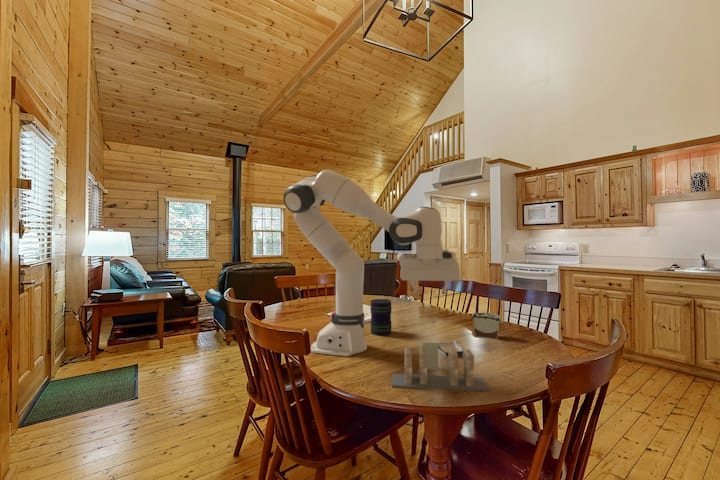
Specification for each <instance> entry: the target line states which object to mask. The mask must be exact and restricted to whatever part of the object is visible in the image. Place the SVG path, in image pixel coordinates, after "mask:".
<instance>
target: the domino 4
mask: <svg viewBox="0 0 720 480" xmlns="http://www.w3.org/2000/svg"><path fill="white" fill-rule="evenodd" d="M474 361H475V356H474V354H473V352H472V351H471V349H463V357H462V376H463V379H464V381H465V383H466V385H467V386H474V377H475V363H474Z"/></svg>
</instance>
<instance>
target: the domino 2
mask: <svg viewBox="0 0 720 480" xmlns="http://www.w3.org/2000/svg"><path fill="white" fill-rule="evenodd" d="M418 375H419V379H420V384H427V375H428V369H427V352H426V349H425V348H422V347H419V348H418Z"/></svg>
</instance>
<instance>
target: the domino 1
mask: <svg viewBox="0 0 720 480" xmlns="http://www.w3.org/2000/svg"><path fill="white" fill-rule="evenodd" d="M404 374H405V383H410V384H412V374H413V353H412V347H404Z"/></svg>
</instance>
